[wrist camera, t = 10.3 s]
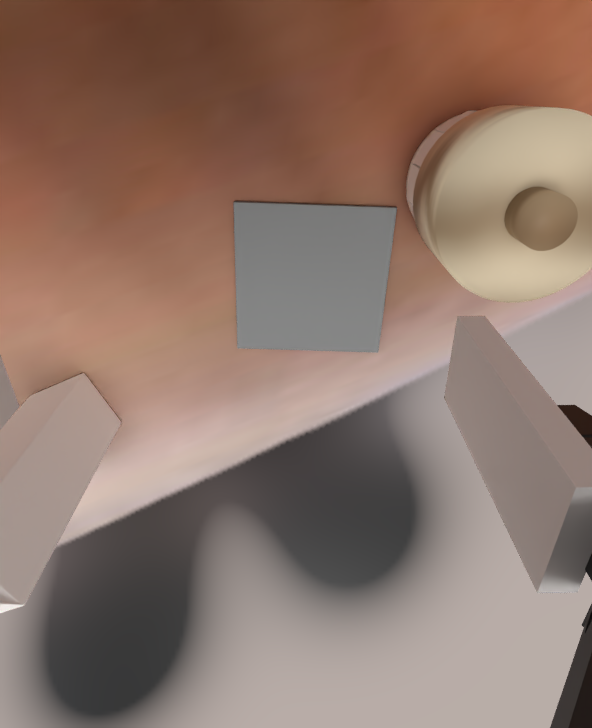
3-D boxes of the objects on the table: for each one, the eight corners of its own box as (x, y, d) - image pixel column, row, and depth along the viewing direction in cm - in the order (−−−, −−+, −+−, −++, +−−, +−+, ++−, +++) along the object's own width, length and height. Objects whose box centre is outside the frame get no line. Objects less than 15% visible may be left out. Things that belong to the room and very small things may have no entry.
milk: (122, 421, 46) (1, 660, 27) (69, 442, 47) (-84, 686, 28) (83, 370, 43) (-84, 594, 24) (28, 394, 45) (-173, 626, 25)
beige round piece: (426, 101, 29) (468, 104, 22) (595, 108, 29) (690, 113, 22) (402, 267, 34) (430, 313, 27) (547, 272, 34) (613, 319, 27)
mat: (234, 201, 36) (233, 202, 36) (395, 207, 37) (396, 208, 36) (238, 346, 42) (237, 348, 42) (377, 350, 42) (378, 352, 42)
